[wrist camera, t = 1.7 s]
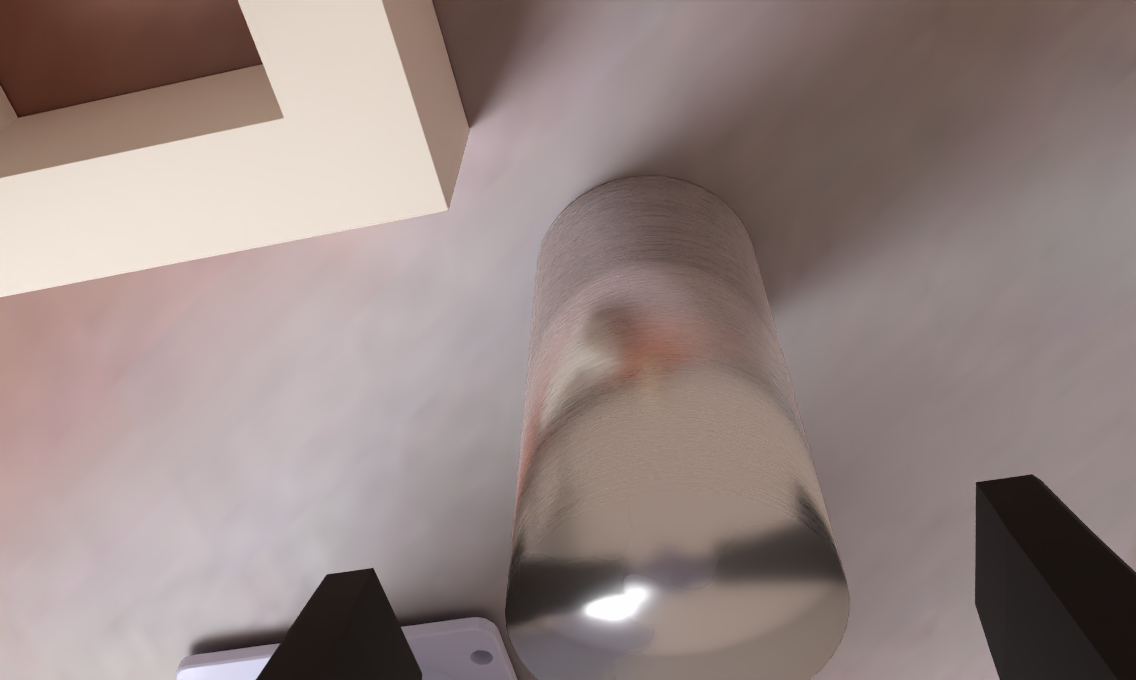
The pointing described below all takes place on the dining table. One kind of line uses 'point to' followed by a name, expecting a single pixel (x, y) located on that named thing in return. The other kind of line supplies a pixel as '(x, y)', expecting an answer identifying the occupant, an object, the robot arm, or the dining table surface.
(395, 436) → the dining table surface
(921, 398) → the dining table surface
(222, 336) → the dining table surface
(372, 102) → the socket block
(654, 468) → the peg
